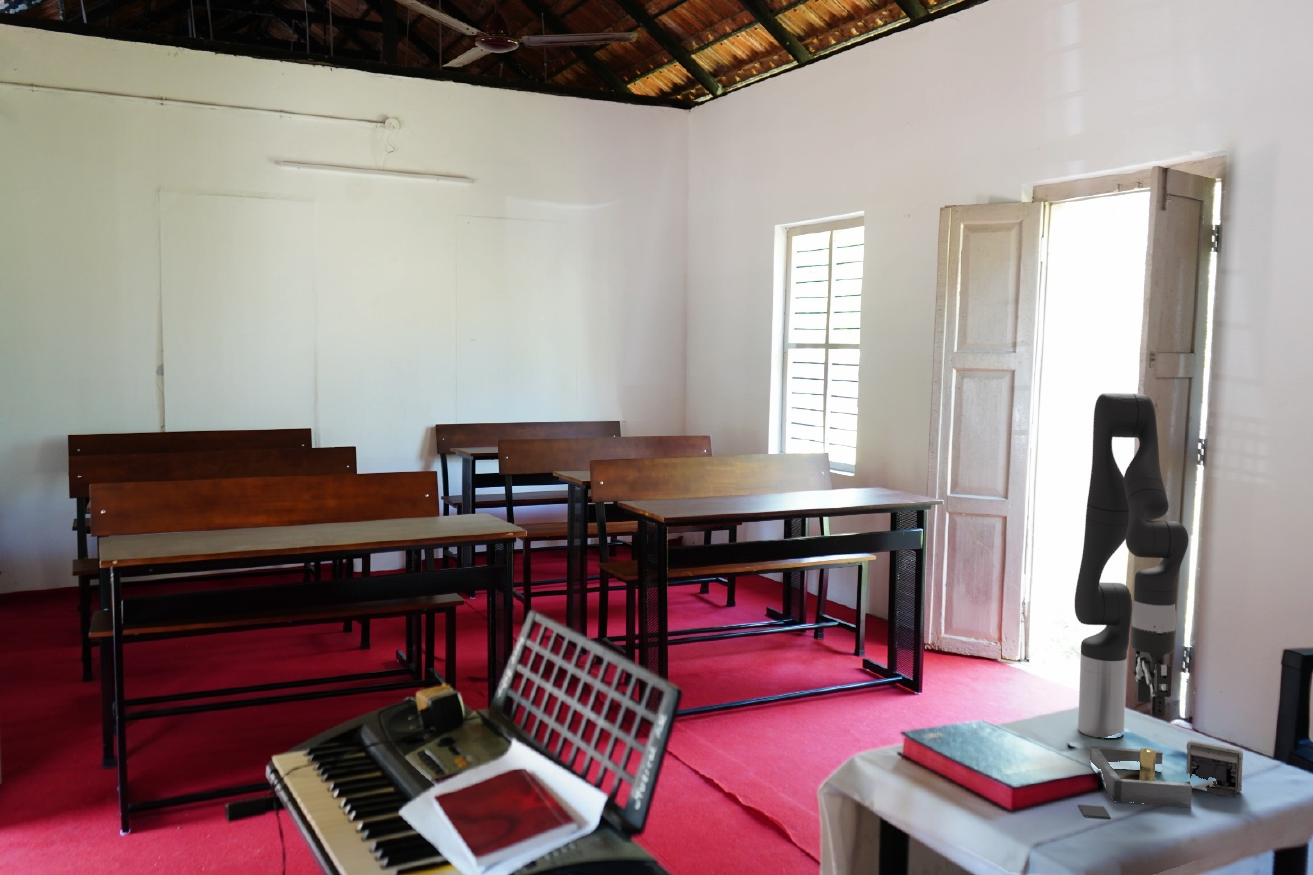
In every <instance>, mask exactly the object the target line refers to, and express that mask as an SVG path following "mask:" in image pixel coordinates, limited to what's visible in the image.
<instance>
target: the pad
mask: <svg viewBox="0 0 1313 875" xmlns="http://www.w3.org/2000/svg"><path fill="white" fill-rule="evenodd" d="M1078 806H1079V807H1080V808H1079V807H1078V808H1079V810H1080V809H1081V810H1080V811H1082V812H1081V813H1082V816H1083V817H1084V816H1088V817H1087V818H1095V819H1096V817H1097V818H1099V819H1110V820H1111V816H1110V814H1109V812H1108V811H1107V809H1106V807H1105V806H1104V805H1103V806H1102V805H1089V804H1078Z"/></svg>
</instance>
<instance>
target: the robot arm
mask: <svg viewBox="0 0 1313 875" xmlns="http://www.w3.org/2000/svg"><path fill="white" fill-rule="evenodd" d="M1155 410H1156V409H1155V406H1154V403H1153V400H1152V399H1151V397H1149V396H1148V395H1146V394H1142V393H1121V392H1120V393H1119V392H1104V393H1101V394H1100V395H1098V397H1097V399H1096V401H1095V405H1094V410H1093V426H1092V427H1093V428H1092V429H1093V431H1092V457H1091V458H1092V461H1091V472H1090V478H1089V480H1090V481H1089V488H1088V494H1087V495H1088V496H1087V503H1086V511H1085V522H1084V523H1085V524H1084V525H1085V526H1084V538H1083V547H1082V555H1081V562H1080V567H1079V571H1078V578H1077V582H1076V587H1075V593H1074V613H1075V616H1076V619H1077V621H1078V622H1079V623H1081V624H1083V625H1086V626H1087V625H1088V626H1105V627H1104V628H1103V629H1102V630H1101V631H1100V632H1098V633H1096V634H1093V635H1091V636H1088V637H1085V638H1084V639H1082V641H1081V644H1080V664H1079V665H1080V668H1079V691H1078V693H1079V694H1078V698H1079V699H1078V720H1077V721H1078V722H1077V723H1078V724H1077V730H1078V731H1079V732H1081V733H1082V734H1084V735H1086V736H1089V737H1092V738H1097V737H1108V736H1112V735H1115V734H1117V733H1122V732H1124V731H1125V713H1126V711H1125V708H1126V686H1127V685H1126V684H1127V683H1126V682H1127V662H1128V661H1127V658H1128V657H1127V656H1128V649H1129V646H1131V648H1132V649H1133V650H1134V653H1133V654H1134V655H1133V669H1132V674H1133V676H1134V677H1135V681H1136V684H1137V685H1136V700H1137V701H1138V702H1139V703H1149V702H1150V715H1151V716H1152V717H1155V718H1164V717H1165V711H1166V710H1165V706H1166V698H1171V695H1172V693H1171V692H1172V688H1171V687H1172V666H1171V664H1167V663H1166V661H1165V656H1166V655H1168V654H1172V653H1174V652H1175V651H1176V650H1175V649H1176V626H1177V624H1176V623H1177V612H1176V587H1177V579H1178V576H1179V572H1180V569H1181V566H1182V563H1183V560H1184V558H1185V556H1186V555H1185V554H1186V553H1187V550H1188V548H1189V547H1188V546H1189V533H1188V531H1187V529H1186V527H1185V526H1184V525H1183V524H1182V523H1181V522H1179V521H1176V520H1174V521H1173V520H1157V519H1160V518H1163V517H1164V516H1165V515H1166V514H1167V512H1169V500H1168V497H1167V493H1166V489H1165V485H1164V481H1163V476H1162V472H1161V466H1160V451H1159V436H1158V428H1157V426H1158V425H1157V416H1156V414H1157V413H1156V411H1155ZM1113 438H1124V439H1125V438H1126V439H1127V438H1128V439H1129V438H1130V439H1131V438H1132V439H1133V438H1134V439H1135V438H1137V439H1138V442H1139V444H1138V448H1137V450H1136V453H1135V454H1134V456H1133V458H1132V460H1131V461H1130V463H1129V464H1128V466H1127V468H1126V470H1125V472H1124V475H1123V473H1122V471H1121V470H1120V467H1119V466H1118V463H1117V461H1116V459H1115V456H1114V452H1113ZM1124 542H1125V545H1126V548H1127V550H1128V551H1129V553H1130V554H1132V555H1133V556H1135V557H1137V558H1145V559H1146V558H1150V559H1152V558H1154V559H1161V561H1160V563H1159V564H1158V565H1156V566H1154V567H1149V568H1143V569H1139V570H1138V571H1136V573H1135V574H1134V586H1133V587H1134V588H1133V589H1134V590H1133V600H1132V594H1131V591H1130V589H1129V588H1128V586H1127V585H1126V584H1124V583H1121V582H1100V581H1101V578H1102V575H1103V571H1104V568H1105V567H1106V565H1107V563H1108V561H1109V560H1110V559H1111V558H1112V556H1113V555H1114V554H1115V553H1116V551H1117V550H1118V549H1119V548H1120V547H1121V545H1123V543H1124ZM1160 688H1161V689H1160Z"/></svg>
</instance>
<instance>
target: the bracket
mask: <svg viewBox="0 0 1313 875" xmlns="http://www.w3.org/2000/svg"><path fill="white" fill-rule="evenodd" d="M1141 749H1142V748H1125V747H1111V746H1109V747H1108V746H1096V745H1095V746H1093V745H1090V750H1089V752H1090V753H1089V761H1090V760H1091V762H1092V763H1093V764H1094V765H1095V766H1096V767H1097V768H1098V769H1101V771H1102V774H1103V778H1104V781H1105V783H1106V789H1107V790H1106V789H1105V790H1106V792H1107V794H1108V793H1109V794H1108V795H1109V796H1111V797H1112V798H1111V797H1110V798H1111V800H1112V799H1113V800H1112V801H1113V802H1114V801H1116V802H1115V803H1122V802H1132V803H1131V804H1135V803H1144V804H1143V805H1149V804H1152V806H1165V807H1178V808H1192V791H1193V789H1192V786H1191V785H1190V783H1189V782H1188V783H1186V782H1184V783H1183V782H1170V781H1157V780H1155V781H1145V780H1139V779H1130V778H1120V777H1119V775H1118V773H1117V772H1116V771H1115V769H1113V768H1112V767H1111V766H1110V764H1109V763H1108V762H1118V761H1119V762H1120V761H1137V762H1138V761H1139V762H1140V753H1141ZM1154 750H1155V749H1154ZM1155 751H1156V758H1155V764H1162V765H1163V751H1161V750H1158V749H1157V750H1155ZM1133 802H1134V803H1133Z"/></svg>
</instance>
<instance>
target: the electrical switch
mask: <svg viewBox="0 0 1313 875" xmlns="http://www.w3.org/2000/svg"><path fill="white" fill-rule="evenodd" d="M1186 750H1187V751H1186V771H1185V772H1186V773H1185V775H1186V774H1188V773H1189V774H1190V778H1191V776H1192V774H1195V775H1196V776H1198V777H1199V778H1201V779H1202V778H1203V779H1206V780H1208V778H1209V777H1212V778H1215V779H1216V781H1213V783H1214V784H1213V786H1215V788H1213V787H1210V786H1209V787H1208V786H1207V788H1208V789H1207V793H1211V792H1213V793H1212V794H1217V795H1222V796H1226V797H1232V798H1236V795H1237V793H1238V792H1239V793H1240V792H1242V791H1243V790H1242V789H1243V788H1242V786H1243V785H1242V783H1243V782H1242V781H1243V762H1244V761H1243V760H1244V758H1243V757H1244V751H1243V750H1242V749H1240V748H1238V747H1232V746H1225V745H1221V744H1215V743H1209V742H1203V741H1199V740H1193V739H1189V740H1187V743H1186ZM1216 782H1217V784H1216Z"/></svg>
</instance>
